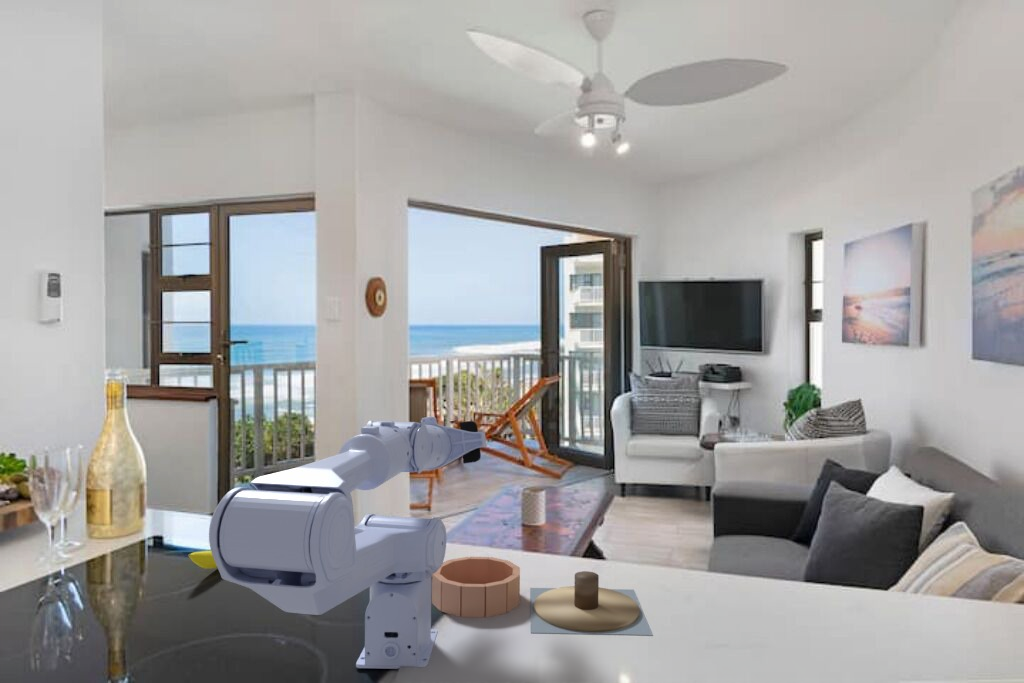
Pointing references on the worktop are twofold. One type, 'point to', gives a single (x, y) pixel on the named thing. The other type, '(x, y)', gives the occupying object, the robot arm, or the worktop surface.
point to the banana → (203, 559)
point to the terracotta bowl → (476, 586)
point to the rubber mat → (545, 628)
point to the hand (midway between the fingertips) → (449, 446)
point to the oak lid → (586, 606)
